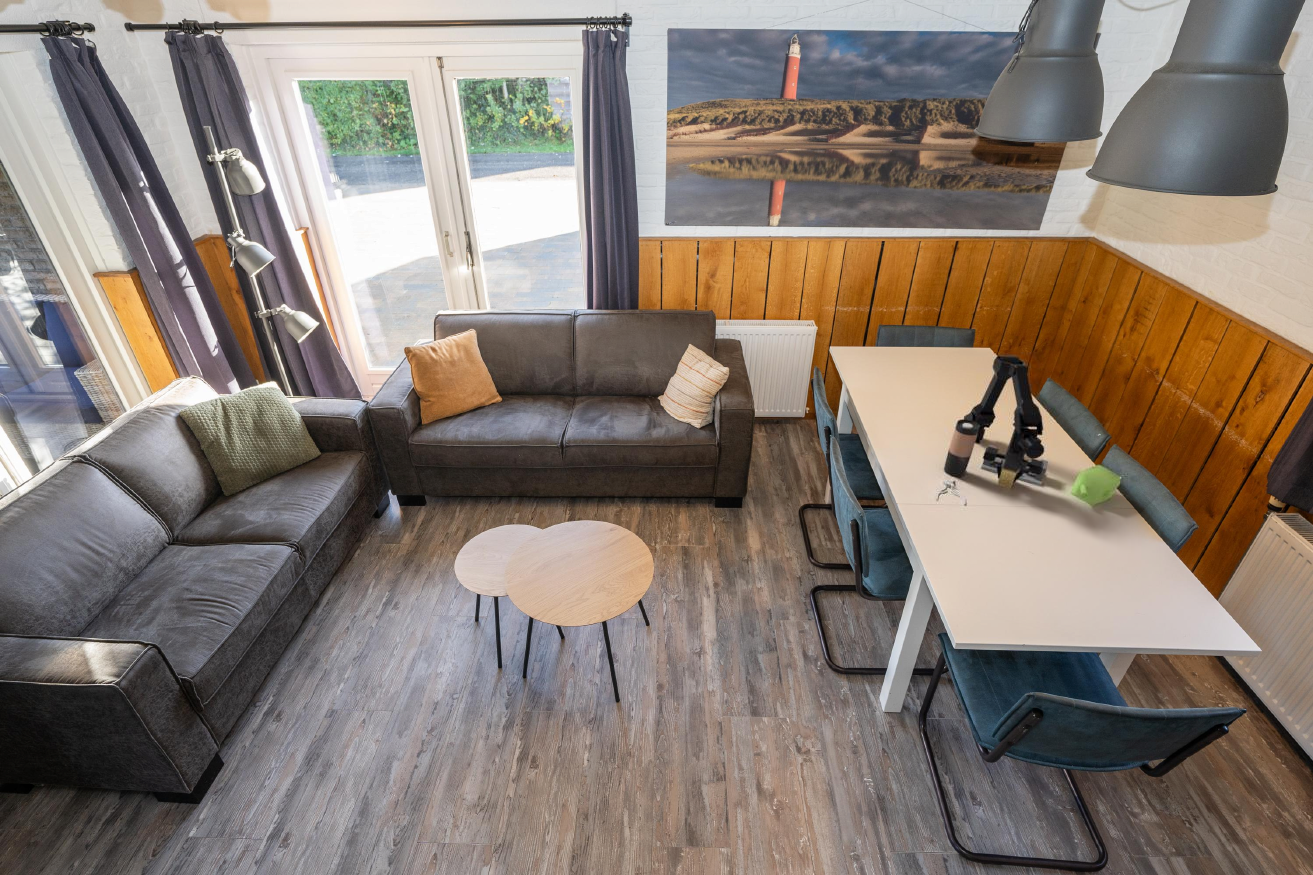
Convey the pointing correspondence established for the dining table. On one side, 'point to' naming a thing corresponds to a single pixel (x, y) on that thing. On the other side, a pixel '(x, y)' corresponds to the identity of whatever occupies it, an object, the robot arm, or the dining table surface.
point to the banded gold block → (1006, 478)
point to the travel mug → (961, 447)
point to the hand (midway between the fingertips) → (1006, 480)
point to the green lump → (1095, 484)
